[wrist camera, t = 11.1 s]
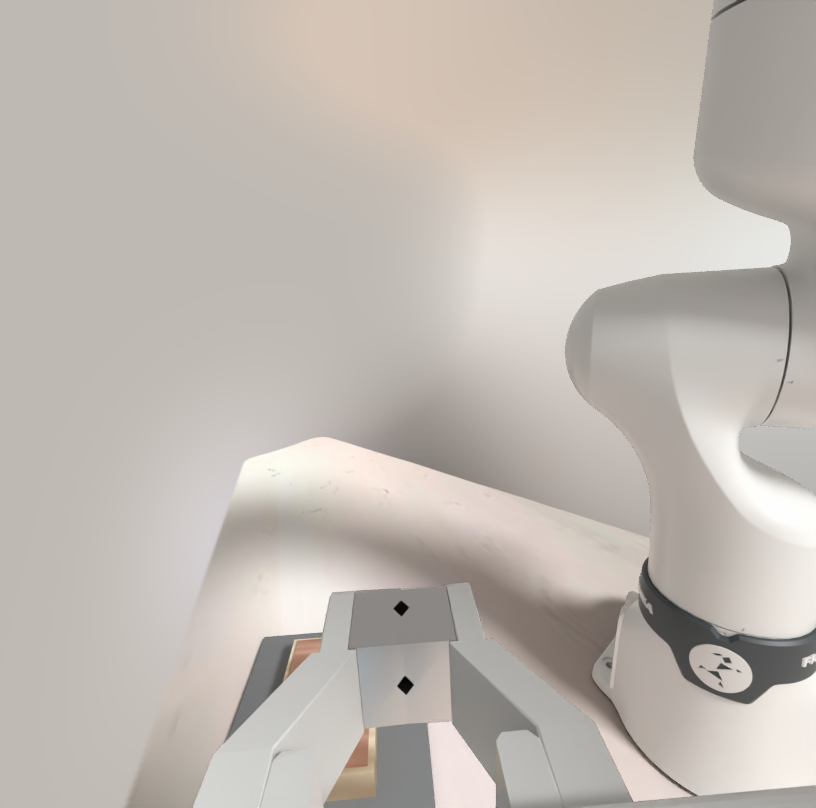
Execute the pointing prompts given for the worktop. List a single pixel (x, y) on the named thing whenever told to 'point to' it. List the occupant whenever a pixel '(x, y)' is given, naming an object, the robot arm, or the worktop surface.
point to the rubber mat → (396, 745)
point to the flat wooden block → (363, 761)
